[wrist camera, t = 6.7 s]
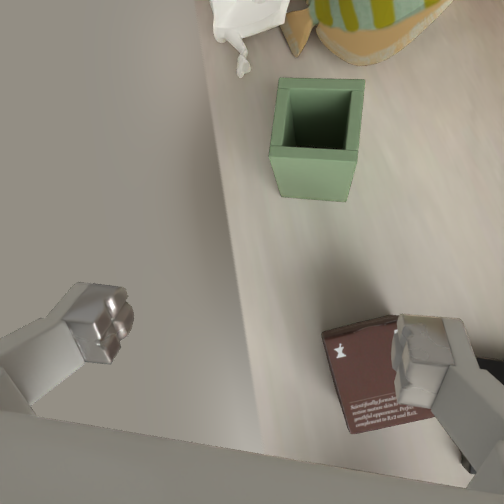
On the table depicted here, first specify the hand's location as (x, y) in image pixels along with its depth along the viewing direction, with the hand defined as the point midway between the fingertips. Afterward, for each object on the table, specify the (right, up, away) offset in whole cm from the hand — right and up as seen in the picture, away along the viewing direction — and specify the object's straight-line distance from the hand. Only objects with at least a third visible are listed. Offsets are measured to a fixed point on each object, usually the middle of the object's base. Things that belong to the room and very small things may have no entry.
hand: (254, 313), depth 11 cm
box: (+9, -7, +19) cm, 22 cm away
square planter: (+6, +9, +22) cm, 24 cm away
